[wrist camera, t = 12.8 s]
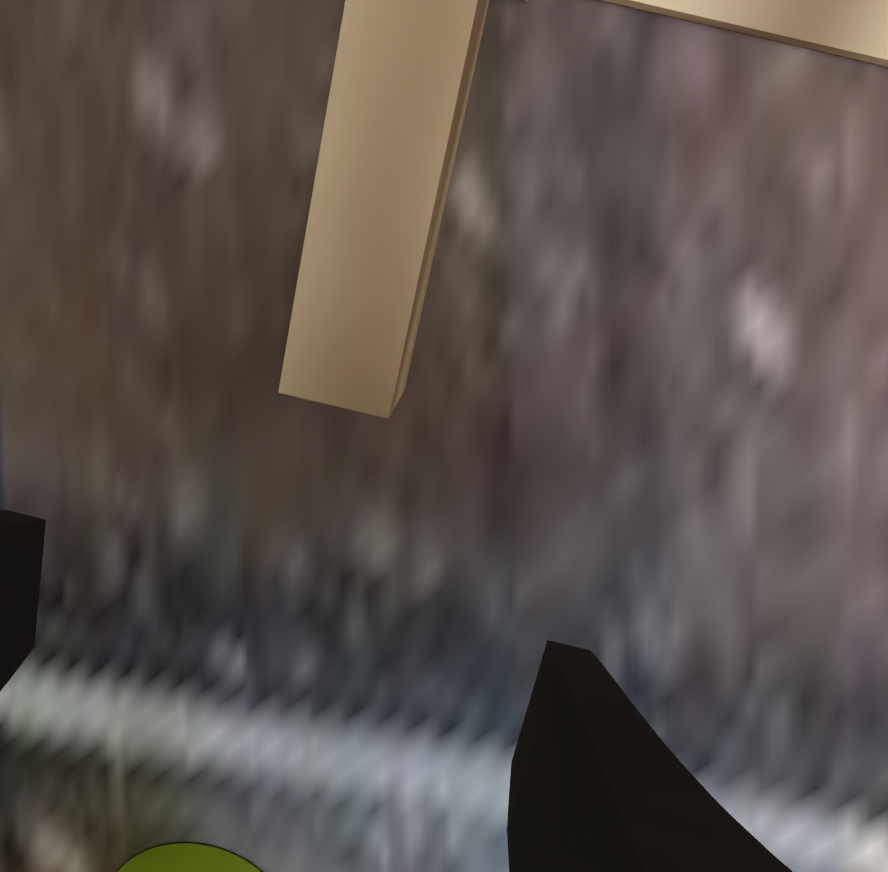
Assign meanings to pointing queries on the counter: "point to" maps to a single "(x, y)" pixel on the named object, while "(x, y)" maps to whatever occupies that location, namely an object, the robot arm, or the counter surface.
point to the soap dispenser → (187, 860)
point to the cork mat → (792, 22)
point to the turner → (379, 198)
